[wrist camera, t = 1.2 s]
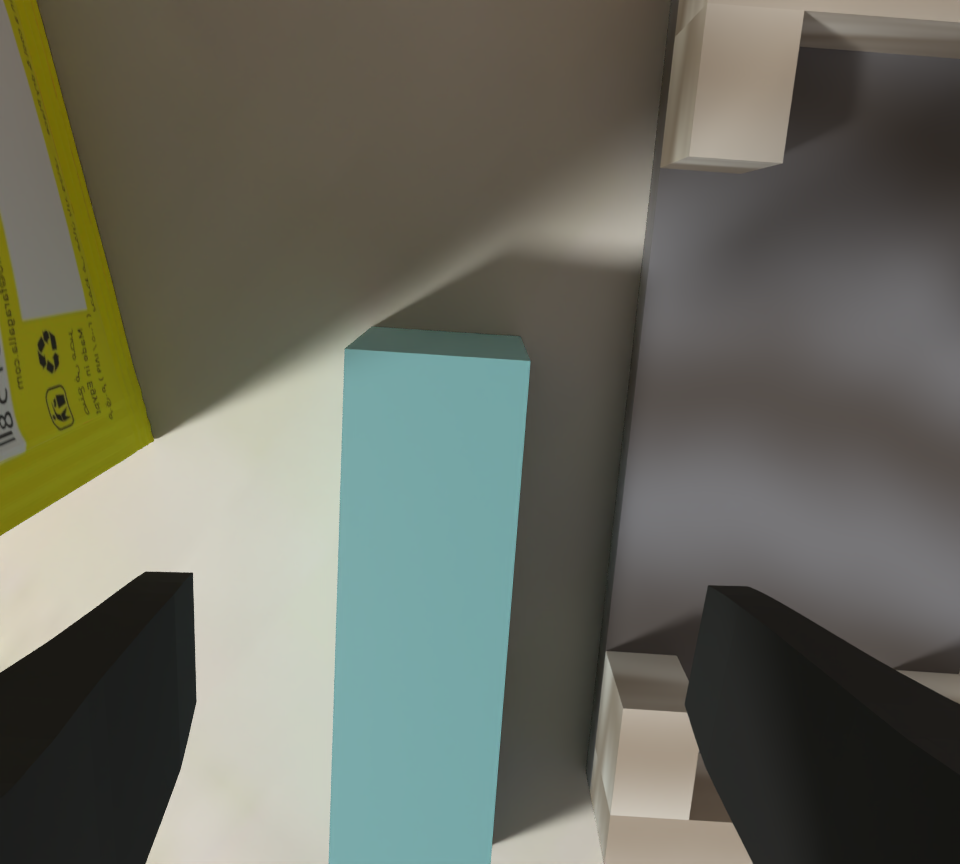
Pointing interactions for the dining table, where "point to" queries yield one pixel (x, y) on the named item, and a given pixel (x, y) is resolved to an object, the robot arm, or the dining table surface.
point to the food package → (53, 296)
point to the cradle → (784, 378)
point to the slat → (424, 592)
